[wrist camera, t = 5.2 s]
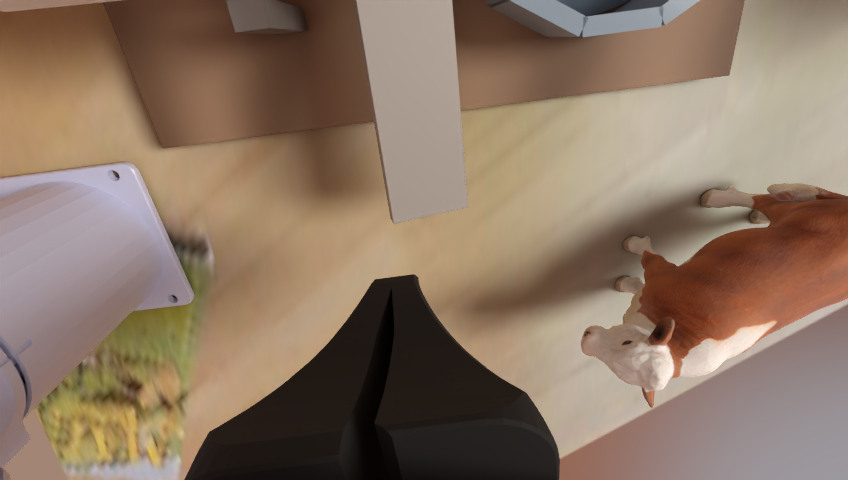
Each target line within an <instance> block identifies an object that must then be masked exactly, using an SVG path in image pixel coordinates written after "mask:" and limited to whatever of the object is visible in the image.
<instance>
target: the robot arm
mask: <svg viewBox="0 0 848 480" xmlns="http://www.w3.org/2000/svg"><path fill="white" fill-rule="evenodd" d="M113 170H114V171H116V172H117V173H118V174H119V177H120V178H117V177H116V176H115V175H114V174H113ZM172 295H174V296H176V297H177V298H178V299H176V298H174V297H173V296H172ZM193 299H194V293H193V290H192V288H191V286H190V284H189V281H188V279H187V277H186V275H185V273H184V270H183V268H182V266H181V264H180V261H179V259H178V257H177V255H176V252H175V250H174V248H173V246H172V244H171V241H170V239H169V237H168V235H167V232H166V230H165V228H164V226H163V223H162V221H161V219H160V217H159V215H158V212H157V210H156V208H155V206H154V203H153V201H152V199H151V197H150V194H149V192H148V190H147V188H146V186H145V183H144V181H143V179H142V177H141V174H140V172H139V170H138V169H137V167H136V166H134V165H133V164H131V163H129V162H120V163H112V164H104V165H96V166H88V167H81V168H73V169H65V170H57V171H50V172H42V173H34V174H26V175H19V176H11V177H3V178H0V480H11V478H10V475H9V474H8V473H7V472H6V471H5V470H4V468H3V467H4V466H5V465H6V464H7V463H8V462H9V461H10V460H11V459H12V458H13V457H14V456H15V455H16V454H17V453H18V452H19V450H20V449H21V448H22V447H23V446H24V445H25V444H26V443H27V442H28V441H29V440H30V436H29V434H28V433H27V431H26V430H25V428H24V425H23V419H24V418H25V417H26V416H27V415H28V414H29V413H30V412H31V411H32V410H33V409H34V408H35V407H36V406H37V405H38V404H39V403H40V402H41V401H42V400H43V399H44V398H45V397H46V396H48V395H49V394H50V393H51V392H52V391H53V390H54V389H55V388H56V387H57V386H58V385H59V384H60V383H61V382H62V381H63V380H64V379H65V378H66V377H67V376H68V375H69V374H70V373H71V372H72V371H73V370H74V369H75V368H76V367H77V366H78V365H79V364H80V363H81V362H82V361H83V360H84V359H85V358H86V357H87V356H88V355H89V354H90V353H91V352H92V351H93V350H94V349H95V348H96V347H97V346H98V345H99V344H100V343H101V342H102V341H103V340H104V339H105V338H106V337H107V336H108V335H109V334H110V333H111V332H112V331H113V330H114V329H115V328H116V327H117V326H118V325H119V324H120V323H121V322H122V321H123V320H124V319H125V318H126V317H128V316H129V315H130V314H131V313H132V312H133V311H139V310H147V309H155V308H164V307H172V306H180V305H187V304H189V303H190V302H191V301H192V300H193ZM559 464H560V459H559V453H558V448H557V445H556V443H555V440H554V438H553V436H552V434H551V432H550V430H549V428H548V426H547V424H546V422H545V421H544V419H543V417H542V416H541V414H540V412H539V411H538V409H537V408H536V406H535V405H534V403H533V402H532V400H531V399H530V397H529V396H528V394H527V393H526V392H524V391H522V390H521V389H519V388H517V387H515V386H514V385H512V384H510V383H508V382H507V381H505V380H503V379H501V378H500V377H498V376H497V375H496V374H494V373H493V372H491V371H490V370H488V369H487V368H486V367H485V366H484V365H482V364H481V363H480V362H479V361H477V360H476V359H475V358H474V357H473V356H471V355H470V354H469V353H468V352H467V351H466V350H465V349H464V348H463V347H462V346H461V345H460V344H459V343H458V342H457V341H456V340H455V339H454V338H453V337H452V336H451V335H450V334H449V332H448V331H447V330H446V329H445V327H444V326H443V325H442V324H441V322H440V321H439V320H438V318H437V317H436V315H435V314H434V312H433V311H432V309H431V308H430V306H429V304H428V303H427V301H426V299H425V297H424V295H423V293H422V291H421V288H420V286H419V281H418V277H417V276H415V275H414V274H413V275H405V276H398V277H391V278H383V279H376V280H374V281H373V283H372V284H371V285H370V287H369V289H368V290H367V292H366V293H365V295H364V296H363V298H362V299H361V301H360V302H359V304H358V305H357V307H356V308H355V310H354V311H353V312H352V314H351V315H350V317H349V318H348V319H347V321H346V322H345V323H344V325H343V326H342V327H341V328H340V330H339V331H338V332H337V333H336V334H335V336H334V337H333V338H332V339H331V340H330V342H329V343H328V344H327V345H326V346H325V347H324V348H323V349H322V350H321V351H320V352H319V353H318V354H317V355H316V356H315V357H314V358H313V359H312V360H311V361H310V362H309V363H308V364H306V365H305V366H304V367H303V368H302V369H301V370H299V371H298V372H297V373H296V374H295V375H294V376H292V377H291V378H290V379H289V380H288V381H286V382H285V383H284V384H283V385H281V386H280V387H279V388H277V389H276V390H275V391H273V392H272V393H271V394H269V395H268V396H266V397H265V398H263V399H262V400H261V401H259V402H258V403H256V404H255V405H253V406H252V407H250V408H249V409H247V410H246V411H244V412H242V413H241V414H239V415H237V416H236V417H234V418H232V419H231V420H229V421H227V422H226V423H224V424H222V425H221V426H219V427H217V428H216V429H214V430H212V431H210V432H209V434H208V435H207V437H206V439H205V441H204V442H203V444H202V446H201V448H200V449H199V451H198V453H197V455H196V457H195V459H194V461H193V463H192V465H191V467H190V470H189V472H188V474H187V476H186V478H185V480H559Z"/></svg>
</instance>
